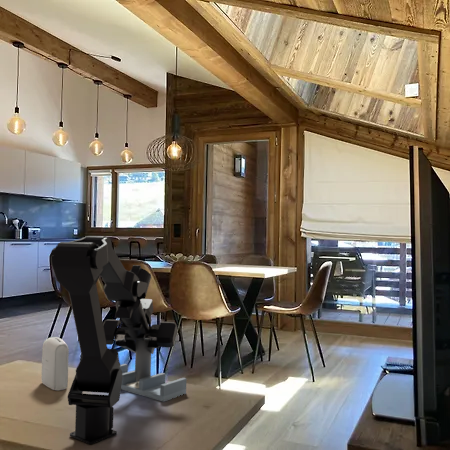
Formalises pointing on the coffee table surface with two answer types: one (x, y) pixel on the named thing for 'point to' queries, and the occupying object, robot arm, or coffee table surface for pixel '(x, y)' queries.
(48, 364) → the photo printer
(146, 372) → the grey cylinder
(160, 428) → the coffee table surface
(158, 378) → the grey divided tray
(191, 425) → the coffee table surface
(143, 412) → the coffee table surface
